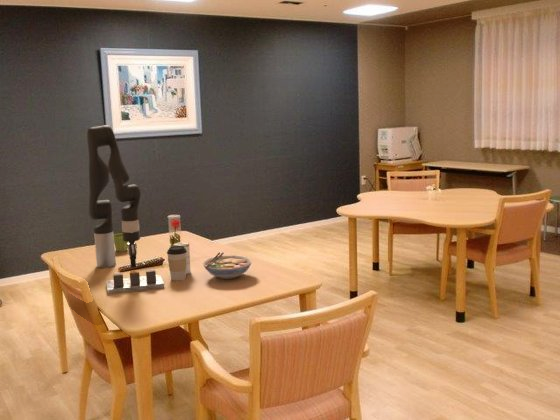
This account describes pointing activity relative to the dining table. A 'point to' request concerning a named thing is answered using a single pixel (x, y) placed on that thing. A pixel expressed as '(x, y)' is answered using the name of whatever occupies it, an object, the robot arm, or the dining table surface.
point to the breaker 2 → (150, 276)
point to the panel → (135, 287)
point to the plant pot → (120, 243)
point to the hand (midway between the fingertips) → (133, 266)
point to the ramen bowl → (227, 265)
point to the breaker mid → (134, 277)
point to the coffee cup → (177, 262)
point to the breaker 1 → (118, 279)
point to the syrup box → (186, 246)
